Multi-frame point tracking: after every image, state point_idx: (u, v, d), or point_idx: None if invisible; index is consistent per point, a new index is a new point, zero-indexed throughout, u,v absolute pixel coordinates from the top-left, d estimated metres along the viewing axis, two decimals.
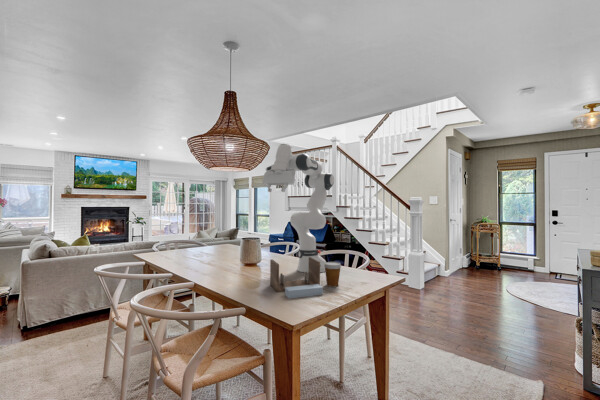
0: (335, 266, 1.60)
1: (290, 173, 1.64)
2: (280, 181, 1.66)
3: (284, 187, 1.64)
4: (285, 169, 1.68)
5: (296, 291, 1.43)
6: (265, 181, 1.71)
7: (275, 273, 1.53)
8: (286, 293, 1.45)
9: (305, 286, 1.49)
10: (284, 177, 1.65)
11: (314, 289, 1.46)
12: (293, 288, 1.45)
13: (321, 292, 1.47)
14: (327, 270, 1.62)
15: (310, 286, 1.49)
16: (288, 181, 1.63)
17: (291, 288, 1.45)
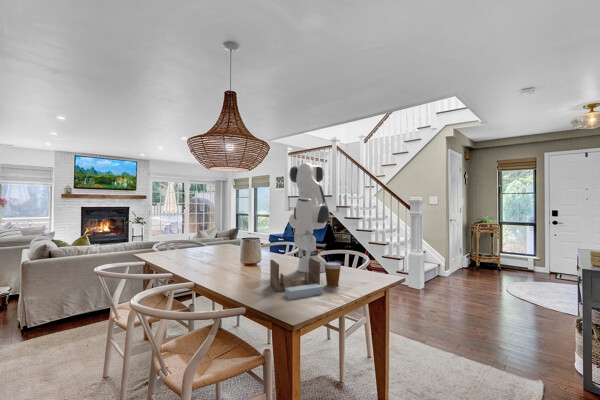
0: (335, 266, 1.60)
1: (306, 240, 1.39)
2: (302, 248, 1.44)
3: (306, 255, 1.42)
4: (305, 232, 1.43)
5: (297, 291, 1.42)
6: (295, 244, 1.54)
7: (275, 273, 1.53)
8: (287, 294, 1.44)
9: (305, 286, 1.49)
10: (304, 243, 1.42)
11: (314, 289, 1.47)
12: (293, 289, 1.44)
13: (321, 291, 1.49)
14: (327, 270, 1.62)
15: (310, 286, 1.49)
16: (306, 250, 1.39)
17: (292, 288, 1.44)
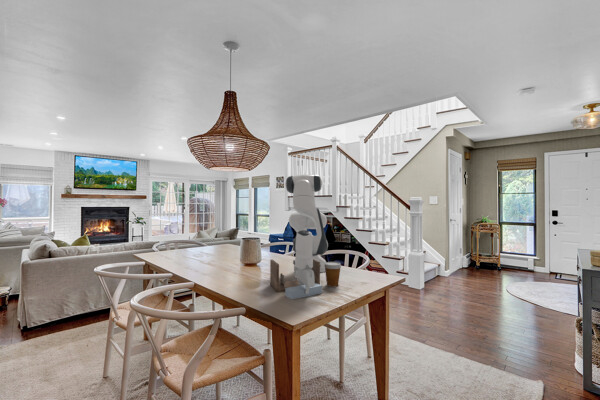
0: (335, 266, 1.60)
1: (306, 275, 1.39)
2: (302, 282, 1.44)
3: (306, 289, 1.42)
4: (305, 267, 1.43)
5: (298, 291, 1.42)
6: (295, 276, 1.54)
7: (275, 273, 1.53)
8: (287, 294, 1.43)
9: (304, 286, 1.49)
10: (304, 278, 1.42)
11: (314, 288, 1.47)
12: (294, 289, 1.44)
13: (320, 290, 1.49)
14: (327, 270, 1.62)
15: None
16: (306, 285, 1.39)
17: (292, 288, 1.44)
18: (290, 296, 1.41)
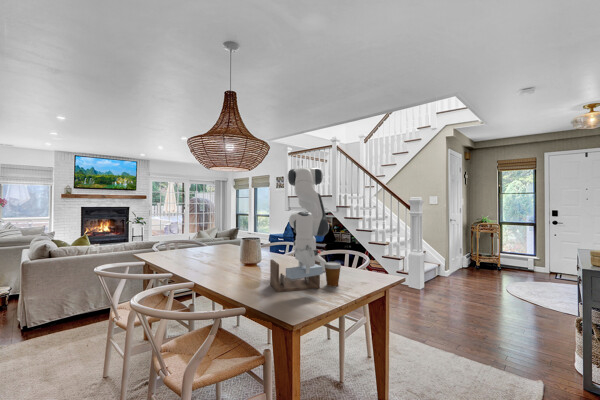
0: (335, 266, 1.60)
1: (307, 255, 1.39)
2: (303, 262, 1.44)
3: (306, 269, 1.43)
4: (305, 247, 1.43)
5: (298, 271, 1.43)
6: (296, 257, 1.54)
7: (275, 273, 1.53)
8: (288, 274, 1.44)
9: (305, 266, 1.49)
10: (304, 258, 1.42)
11: (315, 268, 1.47)
12: (294, 269, 1.44)
13: (321, 271, 1.49)
14: (327, 270, 1.62)
15: None
16: (307, 265, 1.39)
17: (292, 268, 1.44)
18: (290, 276, 1.41)
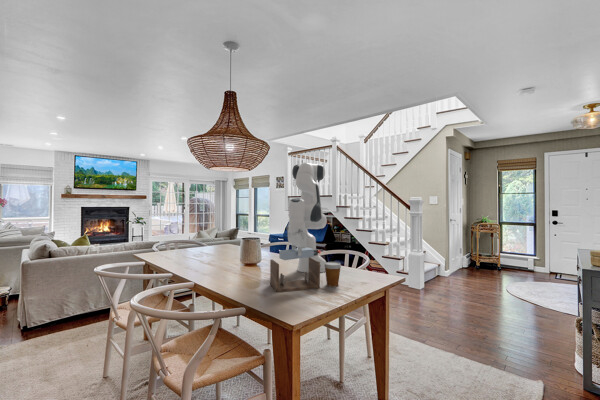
0: (335, 266, 1.60)
1: (298, 237, 1.51)
2: (295, 245, 1.56)
3: (298, 251, 1.55)
4: (297, 230, 1.55)
5: (291, 253, 1.54)
6: (289, 241, 1.66)
7: (275, 273, 1.53)
8: (281, 255, 1.55)
9: (297, 249, 1.61)
10: (296, 241, 1.54)
11: (306, 251, 1.59)
12: (287, 251, 1.56)
13: (312, 254, 1.61)
14: (327, 270, 1.62)
15: (302, 249, 1.62)
16: (298, 247, 1.51)
17: (286, 251, 1.56)
18: (283, 257, 1.53)
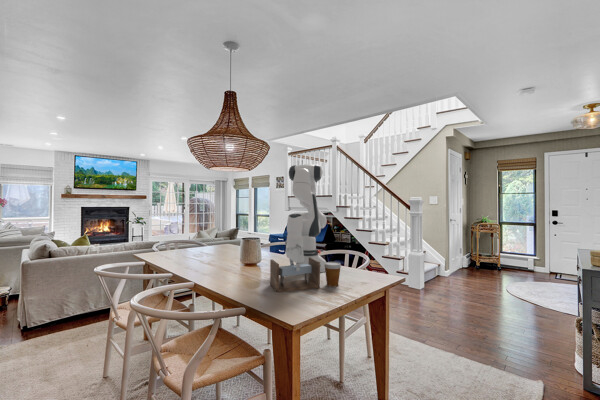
0: (335, 266, 1.60)
1: (296, 253, 1.53)
2: (293, 260, 1.58)
3: (296, 267, 1.56)
4: (295, 246, 1.57)
5: (289, 269, 1.56)
6: (287, 255, 1.68)
7: (275, 273, 1.53)
8: (279, 272, 1.58)
9: (295, 265, 1.63)
10: (294, 256, 1.56)
11: (304, 267, 1.61)
12: (285, 267, 1.58)
13: (310, 270, 1.63)
14: (327, 270, 1.62)
15: (300, 265, 1.64)
16: (296, 262, 1.53)
17: (283, 267, 1.58)
18: (281, 273, 1.55)
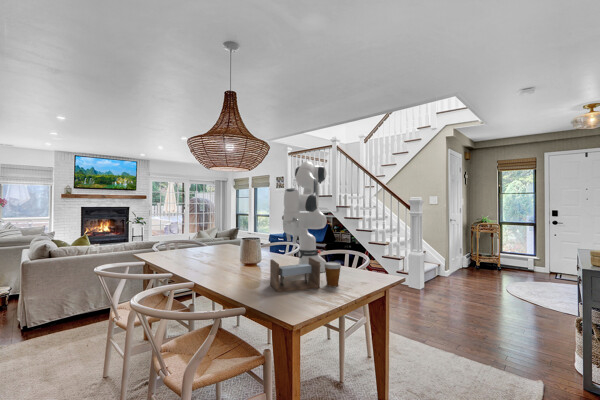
0: (335, 266, 1.60)
1: (293, 225, 1.54)
2: (290, 233, 1.60)
3: (293, 240, 1.57)
4: (292, 219, 1.59)
5: (289, 269, 1.56)
6: (284, 230, 1.70)
7: (275, 273, 1.53)
8: (279, 272, 1.58)
9: (295, 265, 1.63)
10: (291, 229, 1.58)
11: (304, 267, 1.61)
12: (285, 267, 1.58)
13: (310, 270, 1.63)
14: (327, 270, 1.62)
15: (300, 265, 1.64)
16: (293, 234, 1.55)
17: (283, 267, 1.58)
18: (281, 273, 1.55)
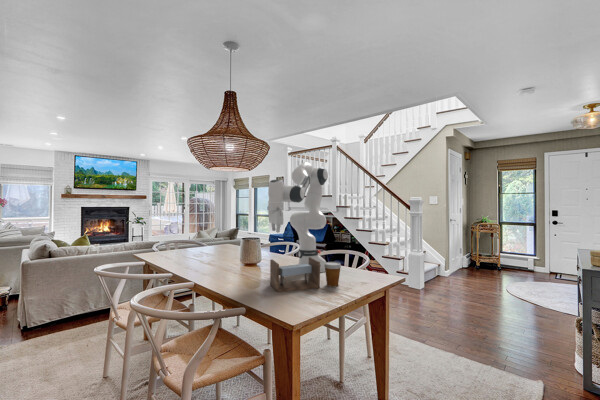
0: (335, 266, 1.60)
1: (276, 214, 1.61)
2: (274, 222, 1.66)
3: (277, 228, 1.64)
4: (275, 209, 1.65)
5: (289, 269, 1.56)
6: (269, 220, 1.76)
7: (275, 273, 1.53)
8: (279, 272, 1.58)
9: (295, 265, 1.63)
10: (275, 218, 1.64)
11: (304, 267, 1.61)
12: (285, 267, 1.58)
13: (310, 270, 1.63)
14: (327, 270, 1.62)
15: (300, 265, 1.64)
16: (276, 223, 1.61)
17: (283, 267, 1.58)
18: (281, 273, 1.55)
